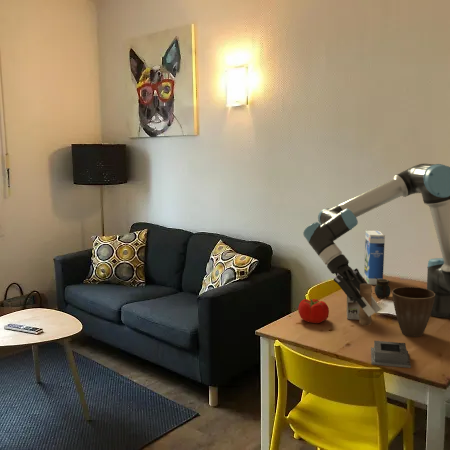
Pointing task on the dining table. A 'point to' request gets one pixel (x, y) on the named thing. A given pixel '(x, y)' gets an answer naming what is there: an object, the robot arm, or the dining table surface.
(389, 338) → the dining table surface
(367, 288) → the brown wooden cylinder
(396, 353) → the grey square socket base
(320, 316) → the tomato
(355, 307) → the coffee box
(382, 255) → the string lights box
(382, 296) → the mate gourd
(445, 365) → the dining table surface
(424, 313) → the plant pot
